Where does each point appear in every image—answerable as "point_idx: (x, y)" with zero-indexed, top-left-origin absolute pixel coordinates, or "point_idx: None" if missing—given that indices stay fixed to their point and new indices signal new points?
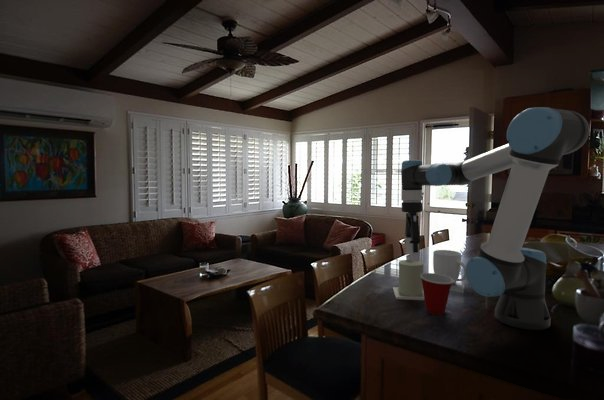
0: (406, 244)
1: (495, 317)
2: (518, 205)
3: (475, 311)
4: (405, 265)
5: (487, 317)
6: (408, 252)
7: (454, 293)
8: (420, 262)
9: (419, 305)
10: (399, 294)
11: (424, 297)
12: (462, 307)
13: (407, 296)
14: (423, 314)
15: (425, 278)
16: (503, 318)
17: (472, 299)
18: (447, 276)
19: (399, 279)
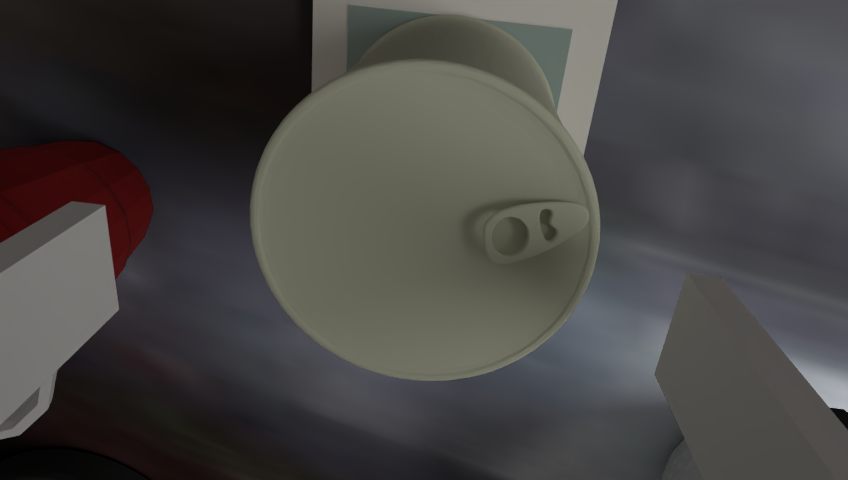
0: (764, 390)
1: (80, 453)
2: None
3: (164, 407)
4: (280, 126)
5: (89, 423)
6: (684, 322)
7: (480, 425)
8: (447, 360)
9: (198, 123)
10: (380, 9)
11: (16, 152)
12: (215, 371)
13: (338, 72)
14: (23, 99)
15: (2, 240)
16: (5, 470)
17: (366, 470)
18: (21, 431)
19: (421, 34)
